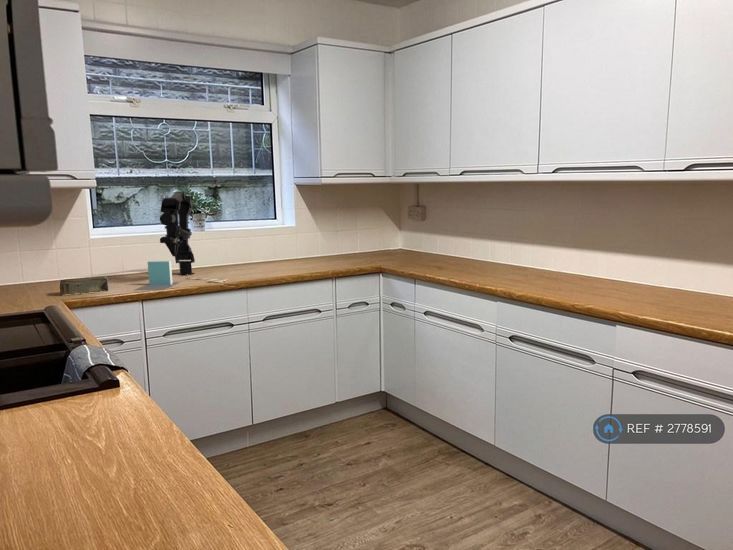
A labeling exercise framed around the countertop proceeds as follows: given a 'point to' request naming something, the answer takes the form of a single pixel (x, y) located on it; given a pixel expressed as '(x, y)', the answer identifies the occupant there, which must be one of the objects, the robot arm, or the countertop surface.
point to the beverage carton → (83, 285)
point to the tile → (160, 273)
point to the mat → (156, 287)
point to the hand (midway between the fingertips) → (174, 256)
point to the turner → (207, 279)
